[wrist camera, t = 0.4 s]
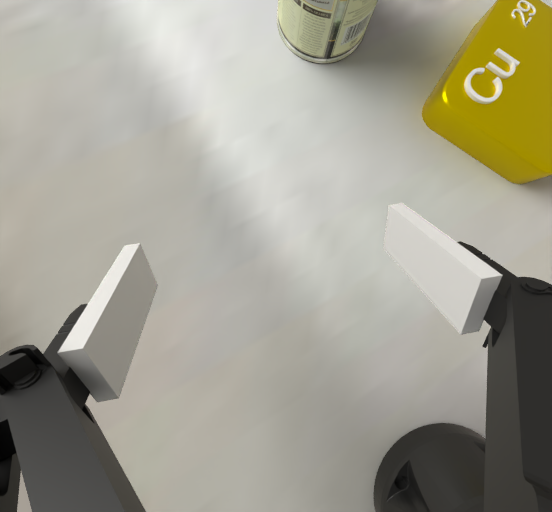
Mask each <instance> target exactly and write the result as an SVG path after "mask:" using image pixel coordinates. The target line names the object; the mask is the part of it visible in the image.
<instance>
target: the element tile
mask: <svg viewBox="0 0 552 512" xmlns="http://www.w3.org/2000/svg"><path fill="white" fill-rule="evenodd" d="M422 117H423V120H424V122H425V123H426V125H427V126H428V127H429V128H430V129H432V130H433V131H435V132H436V133H438V134H439V135H441V136H442V137H444V138H445V139H447V140H448V141H450V142H451V143H453V144H454V145H456V146H457V147H459V148H460V149H462V150H463V151H465V152H466V153H468V154H469V155H471V156H472V157H474V158H475V159H477V160H478V161H480V162H481V163H483V164H484V165H486V166H487V167H488V168H490V169H491V170H493V171H494V172H496V173H497V174H499V175H500V176H502V177H503V178H505V179H506V180H508V181H510V182H512V183H516V184H523V183H527V182H531V181H534V180H537V179H540V178H543V177H547V176H550V175H552V8H551V7H549V6H548V5H546V4H545V3H544V2H542V1H541V0H497V1H496V2H495V3H494V5H493V6H492V7H491V8H490V9H489V10H488V11H487V13H486V14H485V15H484V16H483V17H482V18H481V19H480V21H479V22H478V23H477V24H476V25H475V26H474V28H473V29H472V31H471V32H470V34H469V35H468V37H467V38H466V40H465V42H464V43H463V45H462V46H461V48H460V49H459V51H458V52H457V54H456V55H455V57H454V59H453V60H452V62H451V63H450V65H449V66H448V68H447V69H446V71H445V72H444V74H443V76H442V77H441V79H440V80H439V82H438V83H437V85H436V86H435V88H434V89H433V91H432V93H431V94H430V96H429V97H428V99H427V100H426V102H425V104H424V106H423V110H422Z"/></svg>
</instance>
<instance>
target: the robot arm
mask: <svg viewBox="0 0 552 512" xmlns="http://www.w3.org/2000/svg"><path fill="white" fill-rule="evenodd" d="M383 249H384V250H385V251H386V252H387V253H388V255H389V256H390V257H391V258H392V259H393V260H394V261H395V262H396V263H397V264H398V266H399V267H400V268H401V269H402V270H403V271H404V272H405V273H406V274H407V276H408V277H409V278H410V279H411V280H412V281H413V282H414V283H415V284H416V286H417V287H418V288H419V289H420V290H421V291H422V292H423V293H424V294H425V296H426V297H427V298H428V299H429V300H430V301H431V302H432V303H433V304H434V306H435V307H436V308H437V309H438V310H439V311H440V312H441V313H442V314H443V315H444V317H445V318H446V319H447V320H448V321H449V322H450V323H451V324H452V325H453V327H454V328H455V329H456V330H457V331H458V332H459V333H460V334H466V333H471V332H477V331H479V330H480V328H481V325H482V323H483V320H485V321H486V322H487V323H488V324H489V325H490V326H491V329H490V331H489V333H488V335H487V337H486V340H485V342H484V344H483V347H485V348H486V346H487V344H488V367H487V404H486V439H485V438H483V437H482V436H481V435H479V434H478V433H476V432H474V431H472V430H470V429H468V428H466V427H463V426H459V425H455V424H446V423H439V424H431V425H426V426H423V427H420V428H417V429H415V430H413V431H411V432H409V433H408V434H406V435H405V436H403V437H402V438H401V439H399V440H398V441H397V442H396V443H395V444H394V445H393V446H392V447H391V448H390V450H389V451H388V452H387V454H386V455H385V457H384V459H383V461H382V462H381V465H380V467H379V469H378V472H377V476H376V480H375V485H374V506H375V511H376V512H552V285H551V284H549V283H547V282H545V281H542V280H539V279H535V278H530V277H516V276H515V275H514V274H512V273H511V272H509V271H508V270H506V269H505V268H503V267H502V266H501V265H499V264H498V263H496V262H495V261H493V260H490V258H489V257H487V256H486V255H485V254H482V252H480V251H479V250H477V249H476V248H474V247H473V246H471V245H468V244H466V243H463V242H456V241H454V240H453V239H452V238H450V237H449V236H448V235H446V234H445V233H443V232H442V231H441V230H439V229H438V228H436V227H435V226H434V225H432V224H431V223H430V222H428V221H427V220H425V219H424V218H423V217H421V216H420V215H418V214H417V213H416V212H414V211H413V210H411V209H410V208H409V207H407V206H406V205H405V204H403V203H399V204H392V205H389V206H388V214H387V222H386V230H385V238H384V246H383ZM157 286H158V285H157V282H156V280H155V278H154V275H153V273H152V270H151V268H150V266H149V263H148V261H147V259H146V256H145V254H144V251H143V249H142V247H141V244H140V243H138V244H131V245H125V246H124V247H123V249H122V251H121V252H120V254H119V255H118V257H117V258H116V260H115V262H114V263H113V265H112V266H111V268H110V270H109V271H108V273H107V274H106V276H105V278H104V279H103V281H102V282H101V284H100V286H99V287H98V289H97V290H96V292H95V294H94V295H93V297H92V298H91V300H90V302H89V303H88V304H83V305H80V306H79V307H78V308H77V309H76V310H74V311H73V312H72V313H71V314H70V315H69V317H68V318H67V320H66V321H65V323H64V324H63V325H64V326H62V327H61V329H60V330H59V331H58V334H57V335H56V336H55V337H54V339H53V340H52V342H51V343H50V345H49V346H48V348H47V349H46V351H45V352H44V354H42V353H41V352H40V350H39V349H38V348H37V347H35V346H34V345H24V346H19V347H16V348H14V349H12V350H10V351H8V352H6V353H4V354H3V355H1V356H0V512H17V504H18V494H19V482H20V473H21V472H20V471H22V475H23V478H24V482H25V486H26V490H27V493H28V497H29V501H30V505H31V509H32V512H146V511H145V509H144V507H143V506H142V504H141V502H140V500H139V498H138V496H137V495H136V493H135V491H134V489H133V487H132V486H131V484H130V482H129V480H128V478H127V477H126V475H125V473H124V471H123V469H122V467H121V466H120V464H119V462H118V460H117V458H116V457H115V455H114V453H113V451H112V449H111V448H110V446H109V444H108V442H107V440H106V438H105V437H104V435H103V433H102V431H101V429H100V428H99V426H98V424H97V422H96V420H95V419H94V417H93V415H92V413H91V411H90V409H89V408H88V407H87V406H86V404H85V403H86V400H87V398H88V396H89V394H91V395H92V396H93V398H94V399H95V400H96V401H97V402H101V401H107V400H112V399H117V398H119V396H120V393H121V390H122V388H123V385H124V382H125V379H126V376H127V373H128V370H129V367H130V364H131V362H132V359H133V356H134V353H135V350H136V347H137V344H138V341H139V338H140V336H141V333H142V330H143V327H144V324H145V321H146V318H147V315H148V312H149V310H150V307H151V304H152V301H153V298H154V295H155V292H156V289H157Z"/></svg>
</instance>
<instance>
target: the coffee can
mask: <svg viewBox="0 0 552 512" xmlns="http://www.w3.org/2000/svg"><path fill="white" fill-rule="evenodd" d="M377 1H378V0H278V10H277V25H278V30H279V33H280V36H281V38H282V39H283V41H284V43H285V44H286V46H287V47H288V48H289V49H290V50H291V51H292V52H293V53H295V54H296V55H297V56H299V57H301V58H302V59H304V60H308V61H311V62H315V63H332V62H336V61H339V60H341V59H343V58H345V57H347V56H348V55H350V54H351V53H352V52H353V51H354V50H355V49H356V48H357V47H358V45H359V44H360V42H361V41H362V39H363V37H364V34H365V31H366V28H367V25H368V23H369V21H370V18H371V16H372V13H373V11H374V8H375V6H376V4H377Z"/></svg>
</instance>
